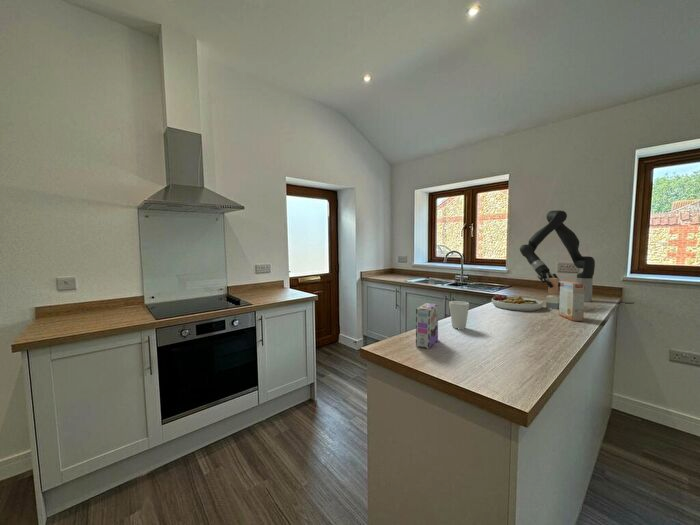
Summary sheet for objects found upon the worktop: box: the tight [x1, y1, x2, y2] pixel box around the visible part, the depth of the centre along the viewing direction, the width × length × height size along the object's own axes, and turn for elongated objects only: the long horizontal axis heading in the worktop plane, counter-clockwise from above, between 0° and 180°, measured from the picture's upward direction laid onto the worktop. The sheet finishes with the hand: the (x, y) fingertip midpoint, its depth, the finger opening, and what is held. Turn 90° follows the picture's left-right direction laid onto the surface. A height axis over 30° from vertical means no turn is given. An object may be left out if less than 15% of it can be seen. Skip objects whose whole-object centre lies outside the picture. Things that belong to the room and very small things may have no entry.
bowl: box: [491, 293, 544, 312], centre depth 195 cm, size 30×30×8 cm
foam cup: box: [448, 300, 470, 330], centre depth 147 cm, size 10×9×13 cm
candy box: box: [415, 302, 439, 350], centre depth 124 cm, size 14×6×16 cm, turn 148°
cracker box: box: [558, 280, 585, 322], centre depth 163 cm, size 14×6×21 cm, turn 168°
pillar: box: [547, 277, 560, 295], centre depth 190 cm, size 4×4×10 cm
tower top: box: [546, 294, 560, 303], centre depth 191 cm, size 6×6×4 cm
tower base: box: [545, 302, 560, 310], centre depth 191 cm, size 6×6×4 cm
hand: (555, 286), depth 189 cm, fingers closed on pillar, 6 cm apart
